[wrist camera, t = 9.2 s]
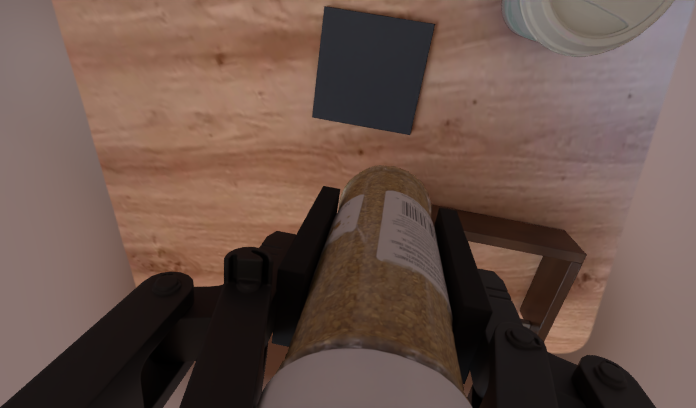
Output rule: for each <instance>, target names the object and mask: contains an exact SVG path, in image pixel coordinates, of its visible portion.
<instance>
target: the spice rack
mask: <svg viewBox="0 0 696 408" xmlns="http://www.w3.org/2000/svg"><path fill="white" fill-rule="evenodd" d="M439 207H440V206H435V205H431V220H432V222H433V225H434V224H435V221H436V217H437V213H438V210H439ZM440 208H445V207H440ZM446 209H451V208H446ZM451 210H456V209H451ZM457 213H458V216H459V218H460V221H461V224H462V227H463V230H464V232H465V235H466V238H467V241H471V242H476V243H481V244H486V245H491V246H497V247H502V248H507V249H512V250H517V251H522V252H527V253H532V254H537V255H542V256H543V258H542V260H541V263H540V265H539V267H538V270H537V272H536V274H535V276H534V279H533V281H532V283H531V286H530V288H529V290H528V292H527V295H526V297H525V299H524V302H523V304H522V306H521V308H520V312H521V314H522V316H523V319H520V320H521V322H522V324H523V326H525V327H527V328H529V329H530V330H532V331H533V332H534V333H536V334H537V335H538V336H539V337H540V338H541V339H542V340H543V342H544V341H545V339H546V337H547V335H548V333H549V331H550V329H551V327H552V325H553V323H554V320H555V318H556V316H557V314H558V312H559V310H560V308H561V306H562V304H563V302H564V300H565V298H566V296H567V294H568V292H569V290H570V288H571V286H572V284H573V282H574V280H575V278H576V276H577V274H578V272H579V270H580V268H581V266H582V263H583V262H584V260H585V258H586V256H587V254H586V253H585V252H584V251H583V250H582V249H581V248H580V247H579V246H578V245H577V243H576V242H575V241H574V240H573V239H572V238H571V237H570V236H569V235H568V234H567V232H566V231H565V230H559V229H554V228H549V227H544V226H539V225H533V224H528V223H523V222H518V221H513V220H508V219H502V218H497V217H492V216H487V215H482V214H476V213H471V212H466V211H461V210H457Z"/></svg>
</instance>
